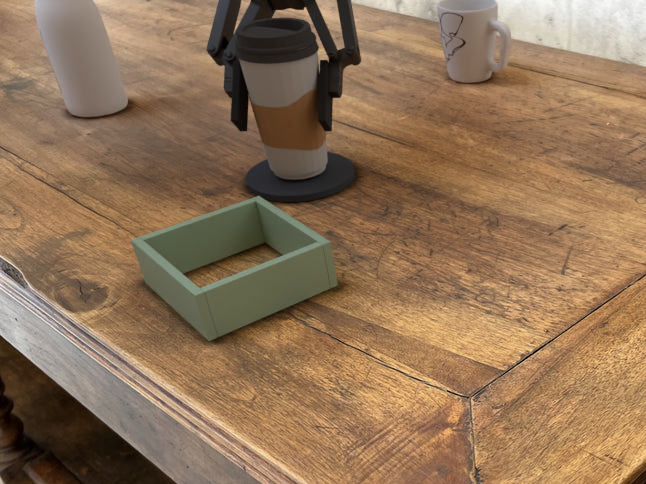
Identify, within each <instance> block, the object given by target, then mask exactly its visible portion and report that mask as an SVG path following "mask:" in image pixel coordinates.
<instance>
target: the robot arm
mask: <svg viewBox="0 0 646 484" xmlns="http://www.w3.org/2000/svg"><path fill="white" fill-rule="evenodd" d="M217 1H218V2H217V6H216V10H215V13H214V16H213V21H212V25H211V29H210V33H209V37H208V41H207V44H206V52H207V54H208V55H209V56H210V58H211V59H212V60H213V61H214V62H215V64H216V65H217V66H219V67H222V66H224V71H223V89H224V93H225V94H226V95H227V96H228V98H230V99H231V104H230V122H231V123H232V124H233V125H234V126H235V127H236V129H237V130H238V131H239V132H248V125H249V124H248V122H249V120H248V119H249V102H250V99H249V92H248V89H247V85H246V82H245V78H244V75H243V71H242V68H241V64H240V61H239V58H237V56H236V47H235V44H234V42H235V40H236V39H237V35H236V30H237V28H238V27H239V26H241V25H243V24H245V23H248V22H251V21H255V20H261V19H268V18H274V15H275V13H276V12H277V11H285V10H289V9H290V10H295V11H305V9H306V11H307V13H308V15H309V18H310V20H311V22H312V24H313V27H314V29H315V31H316V33H317V36H318V38H319V41H320V42H321V45H322V47H323V49H324V52H325V54H326V56H327V58H328V59H320V60H319V74H320V76H319V104H318V121H319V123H320V124H321V126H322V128H323V129H324V131H326V132H332V131H333V110H334V109H333V107H334V106H333V105H334V99H341V98H342V95H343V87H344V85H343V84H344V70H345V69H346V68H347V67H349V66H351V65H352V66H359V65H360V64H361V62H362V56H361V50H360V43H359V38H358V34H357V33H358V31H357V26H356V22H355V16H354V15H355V14H354V9H353V3H352V0H336V6H337V12H338V17H339V21H340V22H339V23H340V28H341V34H342V40H343V45H344V46H343V47H342V48H340V49H338V48H337V44H336V43H335V41H334V38H333V36H332V34H331V32H330V29H329V27H328V26H327V23H326V20H325V17H324V16H323V14H322V11H321V9H320V7H319V4H318V3H317V1H316V0H250V2H249V4H248V5H247V8H246V9H245V12H244V14H243V16H242V18H241V19H240V21H239V23H238V25H237V22H238V17H239V14H240V10H241V6H242V0H217ZM236 25H237V27H236Z"/></svg>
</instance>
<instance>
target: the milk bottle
mask: <svg viewBox="0 0 646 484" xmlns="http://www.w3.org/2000/svg"><path fill="white" fill-rule="evenodd" d="M34 14H35V19H36V24H37V27H38V31H39V35H40V37H41V40H42V43H43V45H44V49H45V51H46V54H47V56H48V60H49V63H50V65H51V67H52V71H53V75H54V78H55V79H56V83H57V85H58V88H59V90H60V93H61V96H62V100H63V101H64V102H63V103H64V104H65V106H66V109H67V111H68V112H69V113H70V114H71V115H72V116H76V117H79V118H80V117H82V118H93V117H94V118H95V117H102V116H107V115H112V114H115V113H118V112H120V111H122V110H123V109H125V108H127V106H128V104H129V103H128V102H129V99H128V95H127V92H126V89H125V86H124V85H125V84H124V82H123V78H122V75H121V73H120V69H119V66H118V63H117V60H116V56H115V53H114V51H113V46H112V43H111V41H110V38H109V35H108V32H107V31H108V30H107V29H106V25H105V22H104V20H103V17H102V14H101V12H100V10H99V8H98V5H96V2H95V1H94V0H34Z"/></svg>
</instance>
